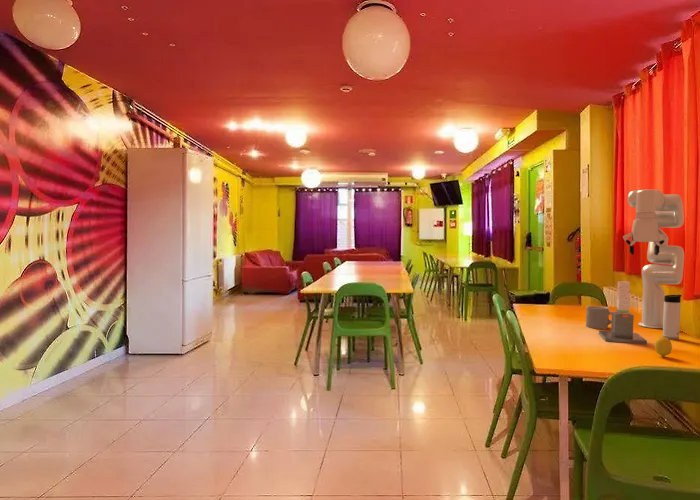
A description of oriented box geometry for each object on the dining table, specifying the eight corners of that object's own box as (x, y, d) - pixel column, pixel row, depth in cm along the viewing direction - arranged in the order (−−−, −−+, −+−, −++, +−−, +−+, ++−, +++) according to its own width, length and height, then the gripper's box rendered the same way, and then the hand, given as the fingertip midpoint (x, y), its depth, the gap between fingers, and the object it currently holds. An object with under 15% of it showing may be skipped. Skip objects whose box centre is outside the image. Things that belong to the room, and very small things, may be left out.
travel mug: (682, 340, 220) (684, 295, 219) (666, 339, 221) (667, 295, 220) (676, 337, 226) (677, 293, 225) (660, 336, 227) (661, 293, 226)
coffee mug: (585, 327, 246) (585, 307, 246) (586, 324, 255) (587, 305, 255) (615, 330, 240) (616, 310, 239) (616, 327, 248) (616, 307, 248)
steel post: (616, 320, 224) (617, 281, 223) (626, 321, 222) (627, 281, 222) (618, 322, 220) (619, 282, 219) (628, 323, 218) (629, 282, 218)
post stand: (598, 333, 231) (599, 309, 231) (637, 336, 227) (637, 311, 226) (605, 341, 216) (606, 315, 216) (646, 344, 211) (647, 317, 211)
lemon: (651, 355, 193) (652, 334, 192) (664, 354, 193) (665, 334, 193) (661, 358, 187) (662, 338, 187) (675, 358, 188) (675, 337, 187)
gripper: (664, 217, 224) (663, 254, 225) (622, 217, 230) (620, 253, 230) (669, 216, 217) (668, 255, 218) (625, 216, 222) (624, 254, 223)
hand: (644, 254), depth 224 cm, fingers open, 9 cm apart
